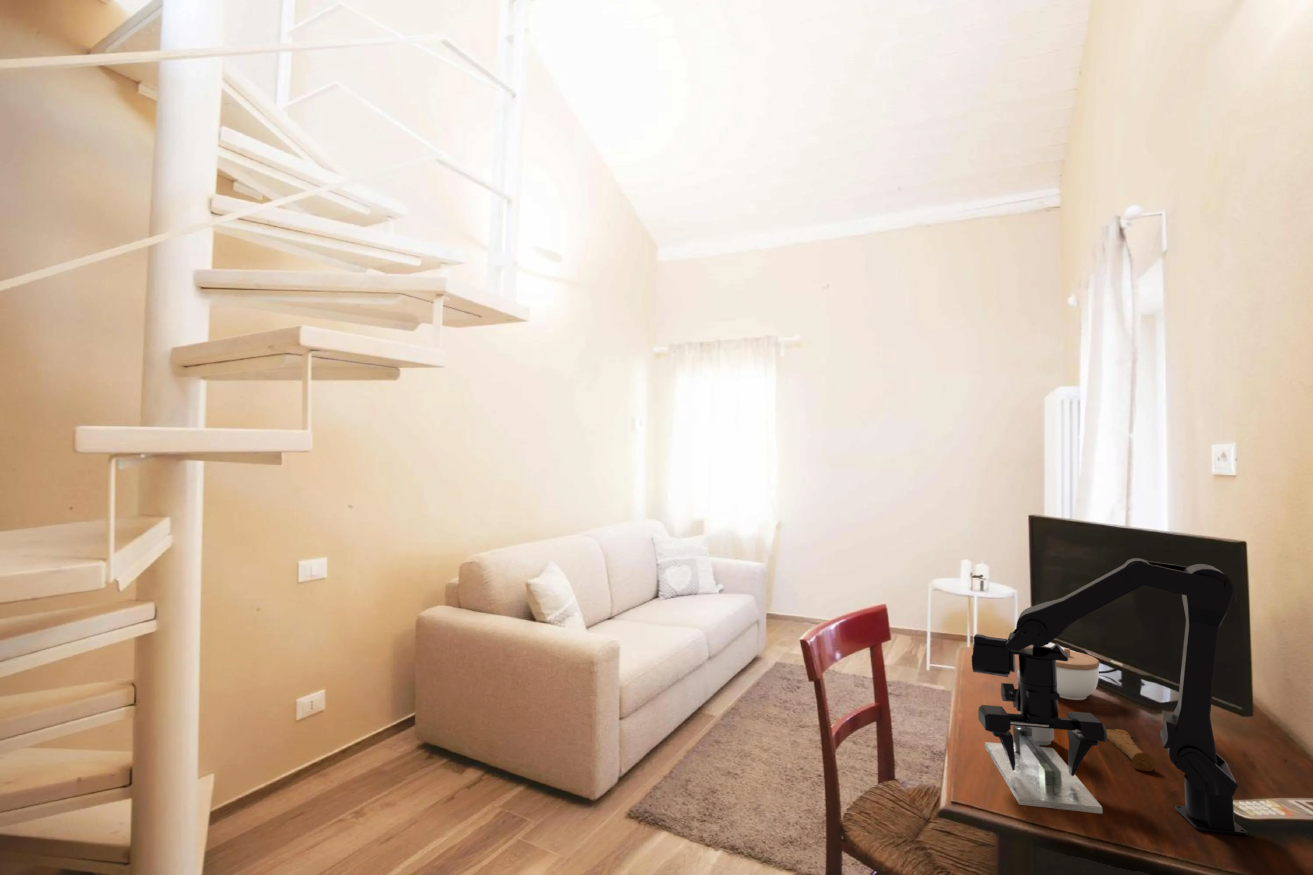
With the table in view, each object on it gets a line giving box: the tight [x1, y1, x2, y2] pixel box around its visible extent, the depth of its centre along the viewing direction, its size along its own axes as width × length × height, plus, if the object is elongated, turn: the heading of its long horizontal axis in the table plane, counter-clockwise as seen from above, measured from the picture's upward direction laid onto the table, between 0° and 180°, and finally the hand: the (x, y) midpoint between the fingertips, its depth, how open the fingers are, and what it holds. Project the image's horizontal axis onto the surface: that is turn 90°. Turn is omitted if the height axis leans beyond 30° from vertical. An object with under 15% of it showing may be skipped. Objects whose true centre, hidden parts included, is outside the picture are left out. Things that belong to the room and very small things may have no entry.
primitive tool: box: [1106, 728, 1157, 772], centre depth 123 cm, size 19×6×4 cm, turn 162°
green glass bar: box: [1026, 735, 1062, 793], centre depth 112 cm, size 14×1×4 cm, turn 166°
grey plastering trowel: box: [984, 725, 1103, 814], centre depth 113 cm, size 22×12×5 cm, turn 166°
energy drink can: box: [1016, 668, 1055, 746], centre depth 128 cm, size 6×6×15 cm
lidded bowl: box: [1056, 647, 1100, 701], centre depth 153 cm, size 13×13×11 cm
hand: (1041, 771), depth 110 cm, fingers open, 9 cm apart
